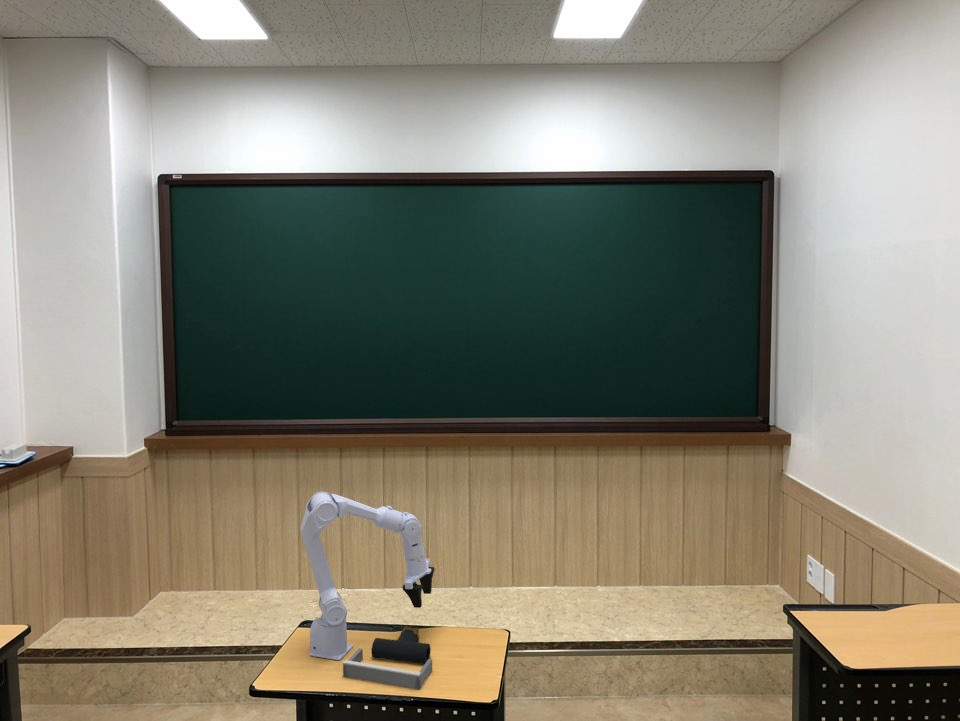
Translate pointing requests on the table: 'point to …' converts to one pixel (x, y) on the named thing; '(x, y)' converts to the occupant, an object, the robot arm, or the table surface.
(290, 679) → the table surface
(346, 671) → the bracket
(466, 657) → the table surface
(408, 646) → the pipe connector
